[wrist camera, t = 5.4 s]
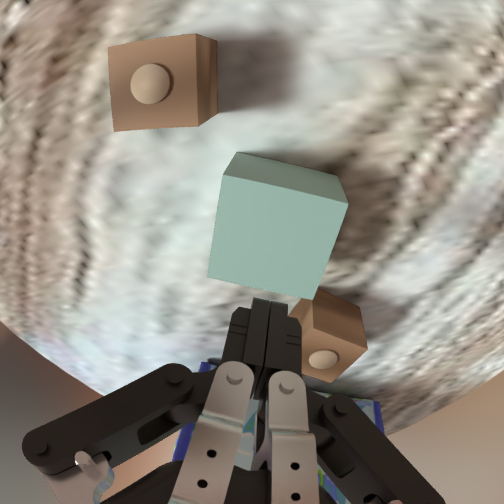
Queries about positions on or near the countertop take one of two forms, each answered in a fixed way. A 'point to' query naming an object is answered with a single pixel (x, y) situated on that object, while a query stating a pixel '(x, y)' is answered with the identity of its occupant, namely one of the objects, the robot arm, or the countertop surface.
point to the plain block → (275, 225)
